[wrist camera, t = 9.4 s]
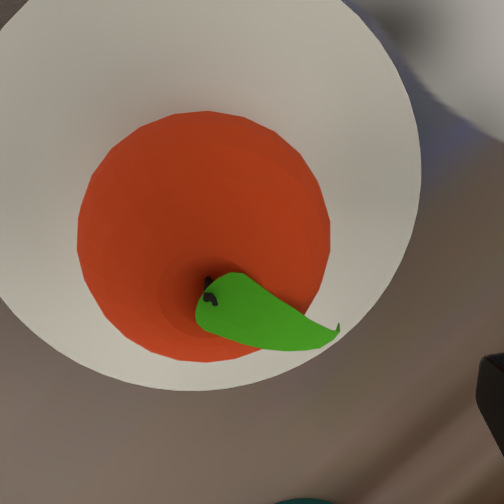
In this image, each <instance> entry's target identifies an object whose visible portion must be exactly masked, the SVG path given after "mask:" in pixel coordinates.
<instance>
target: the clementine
mask: <svg viewBox="0 0 504 504" xmlns="http://www.w3.org/2000/svg"><path fill="white" fill-rule="evenodd" d="M77 254H78V258H79V262H80V266H81V270H82V273H83V277H84V281H85V283H86V284H87V286H88V288H89V290H90V292H91V294H92V295H93V297H94V299H95V300H96V302H97V304H98V306H99V307H100V309H101V311H102V312H103V314H104V316H105V317H106V318H107V319H108V320H109V321H110V322H111V323H112V324H113V325H114V326H115V327H116V328H117V329H118V330H119V331H120V332H121V333H122V334H123V335H124V336H125V337H126V338H128V339H129V340H131V341H133V342H135V343H136V344H138V345H140V346H141V347H143V348H145V349H146V350H148V351H150V352H152V353H156V354H159V355H162V356H165V357H169V358H172V359H175V360H178V361H191V362H203V363H209V362H217V361H224V360H232V359H237V358H239V357H242V356H245V355H248V354H251V353H253V352H256V351H259V350H262V349H266V350H276V351H286V352H287V351H306V350H313V349H319V348H321V347H323V346H325V345H326V344H328V343H329V342H331V341H332V340H334V339H335V338H336V336H337V335H338V334H339V333H340V323H338V325H337V328H336V330H330V329H328V328H326V327H324V326H322V325H320V324H318V323H316V322H314V321H312V320H310V319H309V318H307V317H306V316H304V315H305V314H306V312H307V310H308V308H309V307H310V305H311V303H312V302H313V300H314V298H315V296H316V295H317V293H318V291H319V289H320V286H321V283H322V280H323V277H324V273H325V269H326V266H327V262H328V258H329V255H330V219H329V215H328V212H327V208H326V205H325V202H324V198H323V195H322V192H321V189H320V186H319V183H318V181H317V179H316V177H315V176H314V174H313V173H312V171H311V170H310V168H309V167H308V165H307V163H306V162H305V160H304V159H303V157H302V156H301V154H300V153H299V152H298V151H297V150H295V149H294V148H293V147H292V146H291V145H290V144H289V143H288V142H286V141H285V140H284V139H283V138H282V137H281V136H280V135H278V134H277V133H276V132H275V131H273V130H270V129H268V128H266V127H264V126H262V125H260V124H258V123H256V122H254V121H252V120H250V119H247V118H245V117H242V116H236V115H230V114H225V113H219V112H213V111H199V112H189V113H178V114H172V115H170V116H167V117H164V118H162V119H159V120H157V121H154V122H151V123H149V124H146V125H144V126H141V127H139V128H138V129H136V130H135V131H134V132H132V133H131V134H130V135H128V136H127V137H126V138H124V139H123V140H122V141H120V142H119V143H118V144H116V145H115V146H114V147H112V148H111V150H110V151H109V152H108V154H107V155H106V156H105V158H104V159H103V161H102V162H101V163H100V165H99V166H98V167H97V169H96V170H95V171H94V173H93V174H92V176H91V179H90V181H89V184H88V187H87V190H86V193H85V195H84V198H83V201H82V204H81V207H80V212H79V216H78V230H77Z"/></svg>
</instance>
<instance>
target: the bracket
mask: <svg viewBox="0 0 504 504" xmlns="http://www.w3.org/2000/svg"><path fill="white" fill-rule="evenodd" d="M276 504H333V503H331V502H328V501H324V500H320V499H311V498H300V499H292V500H286V501H282V502H279V503H276Z"/></svg>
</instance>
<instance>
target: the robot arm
mask: <svg viewBox="0 0 504 504" xmlns="http://www.w3.org/2000/svg"><path fill="white" fill-rule="evenodd" d="M476 402H477V405H478V408H479V410H480V412H481V414H482V416H483V418H484V420H485V422H486V424H487V425H488V427H489V429H490V431H491V433H492V435H493V437H494V439H495V441H496V443H497V445H498V447H499V449H500V451H501V453H502V454H503V456H504V353H498V354H491V355H486V356H484V357H482V359H481V360H480V364H479V371H478V378H477V386H476Z"/></svg>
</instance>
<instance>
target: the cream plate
mask: <svg viewBox="0 0 504 504" xmlns="http://www.w3.org/2000/svg"><path fill="white" fill-rule="evenodd" d="M199 111H213V112H219V113H225V114H230V115H236V116H242V117H245V118H247V119H250V120H252V121H254V122H256V123H258V124H260V125H262V126H264V127H266V128H268V129H270V130H273V131H275V132H276V133H277V134H278V135H280V136H281V137H282V138H283V139H284V140H285V141H286V142H288V143H289V144H290V145H291V146H292V147H293V148H294V149H295V150H297V151H298V152H299V153H300V154H301V156H302V157H303V159H304V160H305V162H306V163H307V165H308V167H309V168H310V170H311V171H312V173H313V174H314V176H315V177H316V179H317V181H318V183H319V186H320V189H321V192H322V195H323V198H324V202H325V205H326V208H327V212H328V215H329V219H330V255H329V258H328V262H327V266H326V269H325V273H324V277H323V280H322V283H321V286H320V289H319V291H318V293H317V295H316V296H315V298H314V300H313V302H312V303H311V305H310V307H309V308H308V310H307V312H306V314H305V315H304V316H306V317H307V318H309V319H310V320H312V321H314V322H316V323H318V324H320V325H322V326H324V327H326V328H328V329H330V330H336V328H337V325H338V323H340V333H339V334H338V335H337V336H336V338H335V339H334V340H332V341H331V342H329V343H328V344H326V345H325V346H323V347H321V348H319V349H313V350H306V351H287V352H286V351H276V350H266V349H262V350H259V351H256V352H253V353H251V354H248V355H245V356H242V357H239V358H237V359H232V360H224V361H217V362H209V363H203V362H191V361H178V360H175V359H172V358H169V357H165V356H162V355H159V354H156V353H152V352H150V351H148V350H146V349H145V348H143V347H141V346H140V345H138V344H136V343H135V342H133V341H131V340H129V339H128V338H126V337H125V336H124V335H123V334H122V333H121V332H120V331H119V330H118V329H117V328H116V327H115V326H114V325H113V324H112V323H111V322H110V321H109V320H108V319H107V318H106V317H105V316H104V314H103V312H102V311H101V309H100V307H99V306H98V304H97V302H96V300H95V299H94V297H93V295H92V294H91V292H90V290H89V288H88V286H87V284H86V283H85V281H84V277H83V273H82V270H81V266H80V262H79V258H78V254H77V230H78V216H79V212H80V207H81V204H82V201H83V198H84V195H85V193H86V190H87V187H88V184H89V181H90V179H91V176H92V174H93V173H94V171H95V170H96V169H97V167H98V166H99V165H100V163H101V162H102V161H103V159H104V158H105V156H106V155H107V154H108V152H109V151H110V150H111V148H112V147H114V146H115V145H116V144H118V143H119V142H120V141H122V140H123V139H124V138H126V137H127V136H128V135H130V134H131V133H132V132H134V131H135V130H136V129H138V128H139V127H141V126H144V125H146V124H149V123H151V122H154V121H157V120H159V119H162V118H164V117H167V116H170V115H172V114H178V113H189V112H199ZM420 188H421V151H420V144H419V137H418V130H417V124H416V121H415V117H414V114H413V110H412V107H411V103H410V100H409V96H408V94H407V92H406V90H405V87H404V85H403V83H402V80H401V78H400V76H399V74H398V71H397V69H396V67H395V66H394V64H393V62H392V61H391V59H390V58H389V56H388V54H387V53H386V51H385V49H384V48H383V46H382V45H381V43H380V41H379V40H378V39H377V38H376V37H375V35H374V34H373V33H372V32H371V31H370V29H369V28H368V27H367V26H366V25H365V23H364V22H363V21H362V20H361V19H360V17H359V16H358V15H357V14H356V13H354V12H353V11H352V10H351V9H350V8H349V7H348V6H347V5H346V4H344V3H343V2H342V1H341V0H29V1H28V2H27V3H26V4H25V5H24V6H23V7H22V8H21V9H20V10H19V11H18V12H17V13H16V14H15V15H14V16H13V17H12V18H11V19H10V20H9V21H8V22H7V23H6V24H5V25H4V27H3V28H2V29H1V31H0V297H1V298H2V300H3V301H4V302H5V303H6V304H7V306H8V307H9V308H10V309H11V311H12V312H13V313H14V314H15V315H16V316H17V317H18V318H19V319H20V320H21V321H22V322H23V323H24V324H25V325H26V326H27V327H28V328H29V329H30V330H31V331H32V332H33V333H35V334H36V335H37V336H39V337H40V338H41V339H43V340H44V341H45V342H46V343H48V344H49V345H50V346H52V347H53V348H54V349H56V350H57V351H59V352H61V353H62V354H64V355H66V356H67V357H69V358H71V359H72V360H74V361H76V362H77V363H79V364H81V365H84V366H86V367H88V368H90V369H92V370H95V371H97V372H99V373H101V374H103V375H106V376H110V377H113V378H116V379H119V380H122V381H125V382H128V383H132V384H137V385H142V386H146V387H151V388H158V389H167V390H176V391H206V390H216V389H226V388H232V387H237V386H242V385H247V384H252V383H255V382H258V381H261V380H264V379H268V378H271V377H274V376H277V375H279V374H281V373H284V372H286V371H288V370H291V369H293V368H295V367H297V366H299V365H301V364H303V363H305V362H306V361H308V360H310V359H312V358H313V357H315V356H317V355H319V354H320V353H322V352H323V351H325V350H326V349H327V348H329V347H330V346H331V345H333V344H334V343H336V342H337V341H338V340H340V339H341V338H342V337H343V336H344V335H345V334H346V333H348V332H349V331H350V330H351V329H352V328H353V327H354V326H355V325H356V324H358V323H359V321H360V320H361V319H362V318H363V317H364V316H365V315H366V314H367V312H368V311H369V310H370V309H371V308H372V307H373V306H374V305H375V303H376V302H377V300H378V299H379V297H380V296H381V295H382V293H383V292H384V290H385V289H386V288H387V286H388V285H389V283H390V281H391V279H392V278H393V276H394V274H395V272H396V270H397V268H398V266H399V265H400V263H401V261H402V258H403V256H404V253H405V251H406V248H407V246H408V243H409V240H410V238H411V235H412V231H413V227H414V223H415V219H416V215H417V211H418V204H419V196H420Z"/></svg>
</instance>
